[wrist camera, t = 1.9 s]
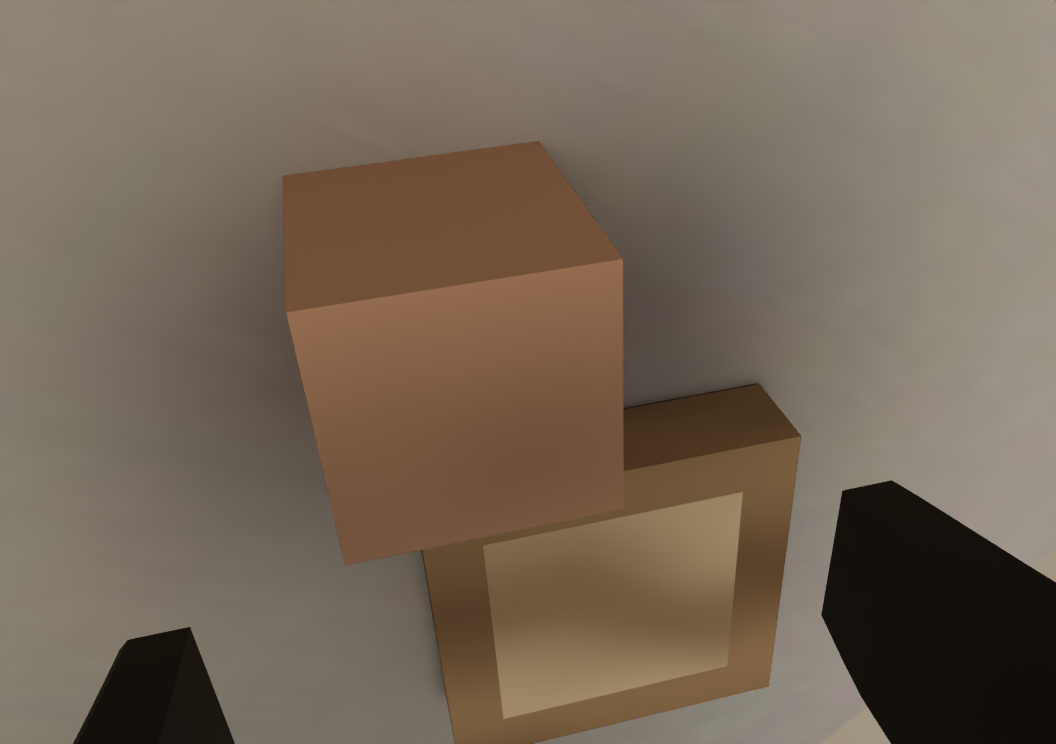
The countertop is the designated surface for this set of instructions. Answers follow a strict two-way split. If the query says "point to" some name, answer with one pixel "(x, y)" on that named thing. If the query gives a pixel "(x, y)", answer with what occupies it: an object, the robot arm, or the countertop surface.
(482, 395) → the block
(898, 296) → the countertop surface
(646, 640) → the base slab
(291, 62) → the countertop surface
